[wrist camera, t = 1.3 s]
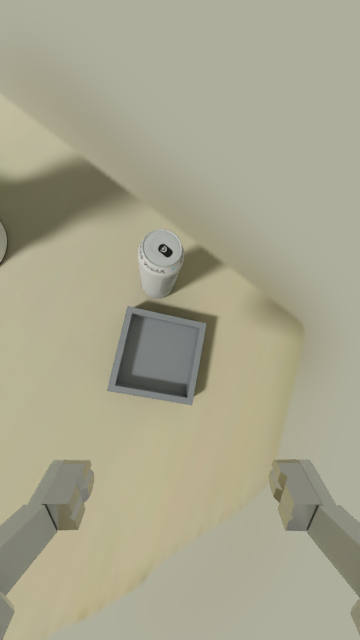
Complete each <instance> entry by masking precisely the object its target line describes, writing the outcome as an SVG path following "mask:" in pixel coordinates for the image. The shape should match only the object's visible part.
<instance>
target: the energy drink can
mask: <svg viewBox="0 0 360 640" xmlns="http://www.w3.org/2000/svg"><path fill="white" fill-rule="evenodd" d="M138 260H139V268H140V277H141V284H142V288H143V290H144V292H145V293H146V294H147V295H149V296H150V297H153V298H163V297H166V296H167V295H168V294H169V293H170V292H171V291H172V289H173V286H174V284H175V281H176V279H177V276H178V274H179V272H180V269H181V267H182V264H183V262H184V249H183V247H182V245H181V242H180V240H179V239H178V237H177V236H176V235H175V234H174V233H172V232H170V231H168V230H165V229H157V230H154V231H152V232H150V233H149V234H147V236H146V237H145V238H144V239H143V240H142V241H141V243H140V245H139V248H138Z"/></svg>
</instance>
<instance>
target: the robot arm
mask: <svg viewBox="0 0 360 640" xmlns="http://www.w3.org/2000/svg"><path fill="white" fill-rule="evenodd" d="M6 247H7V236H6V232H5V229H4V227H3V225H2V224H1V222H0V262H1V261H2V259H3V257H4V255H5V252H6ZM90 467H91V462H90V460H54V461H53V462H52V463H51V464H50V466H49V468H48V469H47V471H46V473H45V475H44V477H43V478H42V480H41V482H40V484H39V485H38V487H37V489H36V491H35V492H34V494H33V496H32V498H31V499H30V501H29V503H28V505H23V506H22V507H21V508H20V509H19V510H17V511H16V512H15V513H14V514H13V515H12V516H11V517H10V518H9V519H7V520H6V521H5V522H4V523H3V524H2V525H1V526H0V640H2V639H3V637H4V635H5V632H6V630H7V628H8V626H9V623H10V621H11V619H12V616H13V614H14V605H13V604H12V603H11V602H10V601H9V600H8V598H7V597H6V595H7V593H8V592H9V591H10V590H11V589H12V587H13V586H14V585H15V584H16V582H17V581H18V580H19V579H20V577H21V576H22V575H23V574H24V572H25V571H26V570H27V569H28V567H29V566H30V565H31V564H32V562H33V561H34V560H35V559H36V558H37V556H38V555H39V554H40V553H41V551H42V550H43V549H44V548H45V546H46V545H47V544H48V543H49V541H50V540H51V539H52V538H53V536H54V535H55V534H56V533H57V530H78V529H79V526H80V523H81V520H82V518H83V515H84V512H85V505H84V502H85V501H86V500H87V499H88V498H89V497H90V494H91V491H92V488H93V483H94V473H93V471H92V470H91V469H90ZM272 467H273V469H272V470H271V471H270V474H269V482H270V487H271V491H272V493H273V496H274V498H275V499H276V500H277V501H278V502H279V508H278V511H279V514H280V517H281V520H282V522H283V525H284V528H285V530H287V531H307V533H308V535H309V536H310V537H311V538H312V539H313V541H314V542H315V543H316V544H317V545H318V547H319V548H320V549H321V550H322V552H323V553H324V554H325V556H326V557H327V558H328V559H329V560H330V562H331V563H332V564H333V565H334V566H335V568H336V569H337V570H338V572H339V573H340V574H341V575H342V576H343V578H344V579H345V580H346V581H347V583H348V584H349V585H350V586H351V588H352V589H353V590H354V591H355V592H356V594H357V595H358V596H359V600H358V601H357V602H356V603H355V605H354V606H353V607H352V609H351V616H352V618H353V621H354V623H355V625H356V627H357V630H358V632H359V634H360V523H359V522H358V521H357V520H356V519H355V518H354V517H353V516H351V515H350V514H349V513H348V512H347V511H346V510H345V509H344V508H343V507H341V506H340V505H336V504H335V502H334V500H333V498H332V497H331V495H330V493H329V492H328V490H327V488H326V486H325V484H324V483H323V481H322V479H321V478H320V476H319V474H318V472H317V470H316V469H315V467H314V465H313V464H312V462H311V461H310V460H296V459H295V460H294V459H292V460H274V461H273V462H272Z"/></svg>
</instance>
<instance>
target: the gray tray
mask: <svg viewBox="0 0 360 640" xmlns="http://www.w3.org/2000/svg"><path fill="white" fill-rule="evenodd" d="M205 330H206V323H202V322H197V321H193V320H188V319H184V318H179V317H175V316H170V315H166V314H161V313H157V312H152V311H147V310H143V309H138V308H134V307H129V306H127V310H126V314H125V319H124V323H123V327H122V331H121V335H120V339H119V343H118V347H117V352H116V356H115V360H114V364H113V368H112V372H111V376H110V380H109V385H108V389H107V391H111V392H117V393H123V394H129V395H135V396H141V397H147V398H153V399H158V400H164V401H170V402H176V403H182V404H188V405H192V403H193V397H194V391H195V386H196V380H197V375H198V369H199V364H200V358H201V352H202V347H203V341H204V336H205Z"/></svg>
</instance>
